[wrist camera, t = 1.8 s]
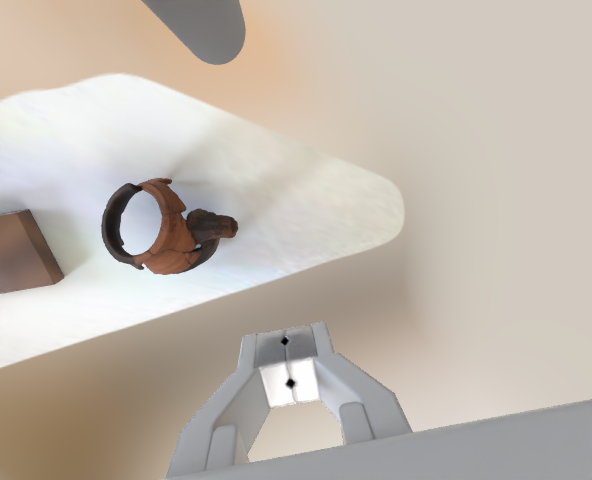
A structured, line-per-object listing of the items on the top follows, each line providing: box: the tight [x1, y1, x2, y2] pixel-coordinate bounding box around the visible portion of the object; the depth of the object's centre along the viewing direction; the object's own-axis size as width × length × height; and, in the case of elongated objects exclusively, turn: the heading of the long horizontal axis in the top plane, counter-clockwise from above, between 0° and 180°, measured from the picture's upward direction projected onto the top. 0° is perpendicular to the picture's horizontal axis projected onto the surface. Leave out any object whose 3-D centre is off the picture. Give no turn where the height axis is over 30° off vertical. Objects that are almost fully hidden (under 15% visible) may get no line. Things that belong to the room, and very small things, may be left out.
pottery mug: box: [101, 178, 238, 275], centre depth 27 cm, size 12×10×8 cm
